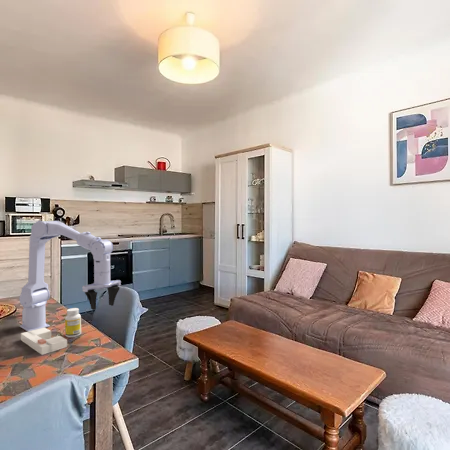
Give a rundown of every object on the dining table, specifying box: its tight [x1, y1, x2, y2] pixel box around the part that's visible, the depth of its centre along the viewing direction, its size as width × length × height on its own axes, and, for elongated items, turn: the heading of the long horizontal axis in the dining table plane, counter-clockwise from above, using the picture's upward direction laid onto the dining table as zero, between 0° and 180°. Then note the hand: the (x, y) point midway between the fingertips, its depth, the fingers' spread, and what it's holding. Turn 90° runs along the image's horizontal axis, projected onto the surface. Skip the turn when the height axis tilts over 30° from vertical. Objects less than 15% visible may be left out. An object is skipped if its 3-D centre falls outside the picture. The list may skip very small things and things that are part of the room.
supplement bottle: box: [64, 307, 82, 338], centre depth 118 cm, size 5×5×10 cm
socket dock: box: [20, 327, 68, 356], centre depth 110 cm, size 19×8×3 cm, turn 51°
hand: (102, 307), depth 119 cm, fingers open, 7 cm apart
